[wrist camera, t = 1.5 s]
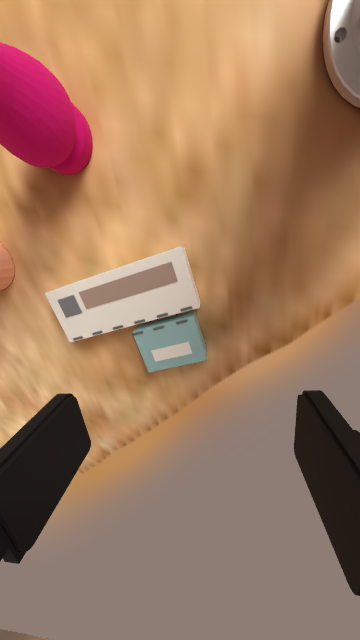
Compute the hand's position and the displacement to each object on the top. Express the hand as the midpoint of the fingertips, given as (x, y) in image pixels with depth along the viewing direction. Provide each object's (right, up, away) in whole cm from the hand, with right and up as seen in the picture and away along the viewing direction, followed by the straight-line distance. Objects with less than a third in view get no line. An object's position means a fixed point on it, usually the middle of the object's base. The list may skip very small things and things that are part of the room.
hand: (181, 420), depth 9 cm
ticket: (-7, +7, +18) cm, 21 cm away
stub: (-1, +2, +19) cm, 20 cm away
